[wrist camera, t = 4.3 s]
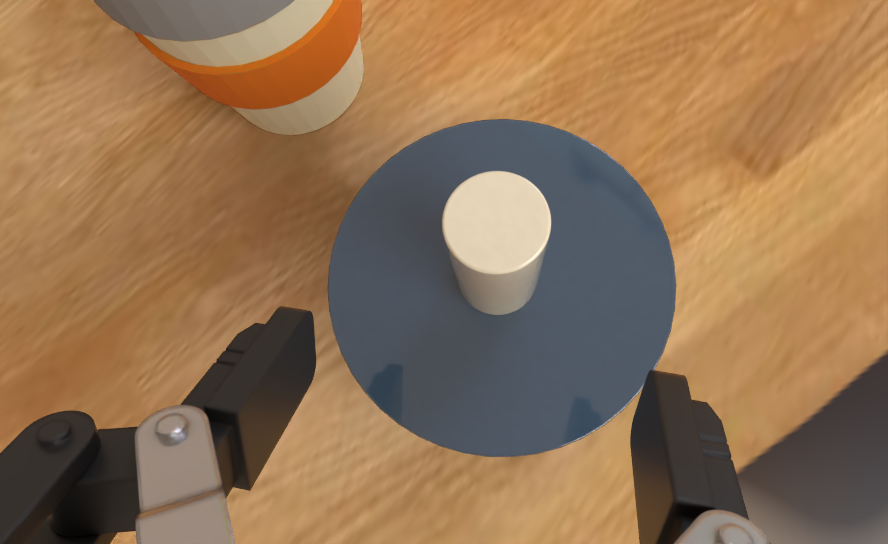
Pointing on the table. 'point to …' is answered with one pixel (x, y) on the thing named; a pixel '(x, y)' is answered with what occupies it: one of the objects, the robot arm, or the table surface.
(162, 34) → the reusable coffee cup
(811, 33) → the table surface
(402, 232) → the lid
